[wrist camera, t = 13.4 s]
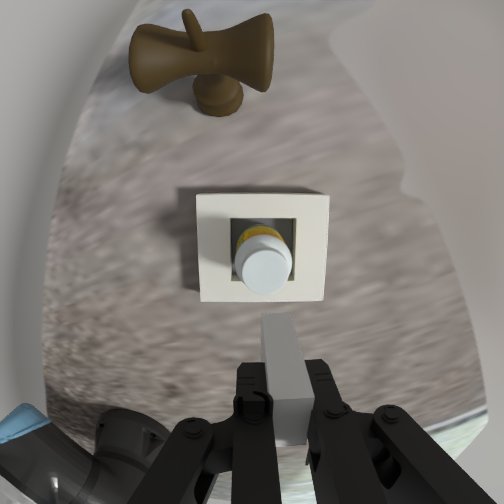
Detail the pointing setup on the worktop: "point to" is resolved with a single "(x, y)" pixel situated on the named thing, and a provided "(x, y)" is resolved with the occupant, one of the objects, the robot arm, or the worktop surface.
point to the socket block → (276, 216)
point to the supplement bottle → (262, 259)
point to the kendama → (205, 60)
